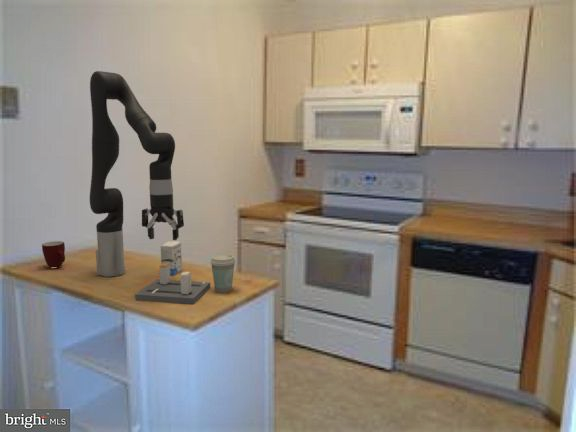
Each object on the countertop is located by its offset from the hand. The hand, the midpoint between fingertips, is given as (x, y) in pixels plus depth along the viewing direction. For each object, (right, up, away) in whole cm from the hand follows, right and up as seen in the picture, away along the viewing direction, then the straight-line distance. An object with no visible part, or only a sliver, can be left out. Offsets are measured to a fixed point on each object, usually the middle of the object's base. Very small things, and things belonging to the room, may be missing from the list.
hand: (163, 239), depth 153 cm
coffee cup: (+20, -18, +2) cm, 27 cm away
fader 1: (0, -15, +3) cm, 16 cm away
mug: (-51, -13, +27) cm, 59 cm away
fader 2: (+9, -17, -7) cm, 21 cm away
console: (+4, -19, -2) cm, 19 cm away
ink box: (-3, -14, +23) cm, 27 cm away
